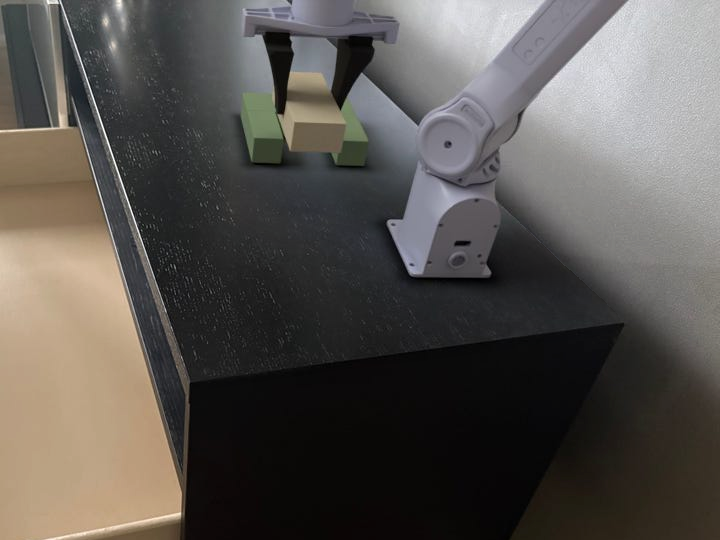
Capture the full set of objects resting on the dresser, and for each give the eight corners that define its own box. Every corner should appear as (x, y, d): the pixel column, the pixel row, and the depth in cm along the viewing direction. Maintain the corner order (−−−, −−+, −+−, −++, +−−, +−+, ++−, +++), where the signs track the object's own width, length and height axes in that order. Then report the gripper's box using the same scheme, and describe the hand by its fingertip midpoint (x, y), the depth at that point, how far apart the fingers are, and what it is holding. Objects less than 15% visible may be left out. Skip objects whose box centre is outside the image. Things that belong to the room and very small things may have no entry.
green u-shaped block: (364, 165, 86) (369, 141, 84) (251, 162, 84) (254, 137, 82) (342, 119, 95) (347, 96, 93) (240, 116, 93) (242, 92, 91)
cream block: (341, 153, 73) (346, 123, 71) (290, 151, 72) (294, 121, 70) (317, 100, 81) (321, 72, 79) (271, 98, 81) (275, 70, 79)
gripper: (396, -45, 71) (367, 97, 80) (243, -55, 69) (231, 91, 78) (418, -22, 65) (384, 127, 75) (252, -32, 63) (239, 122, 72)
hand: (307, 111), depth 76 cm, fingers closed on cream block, 5 cm apart
